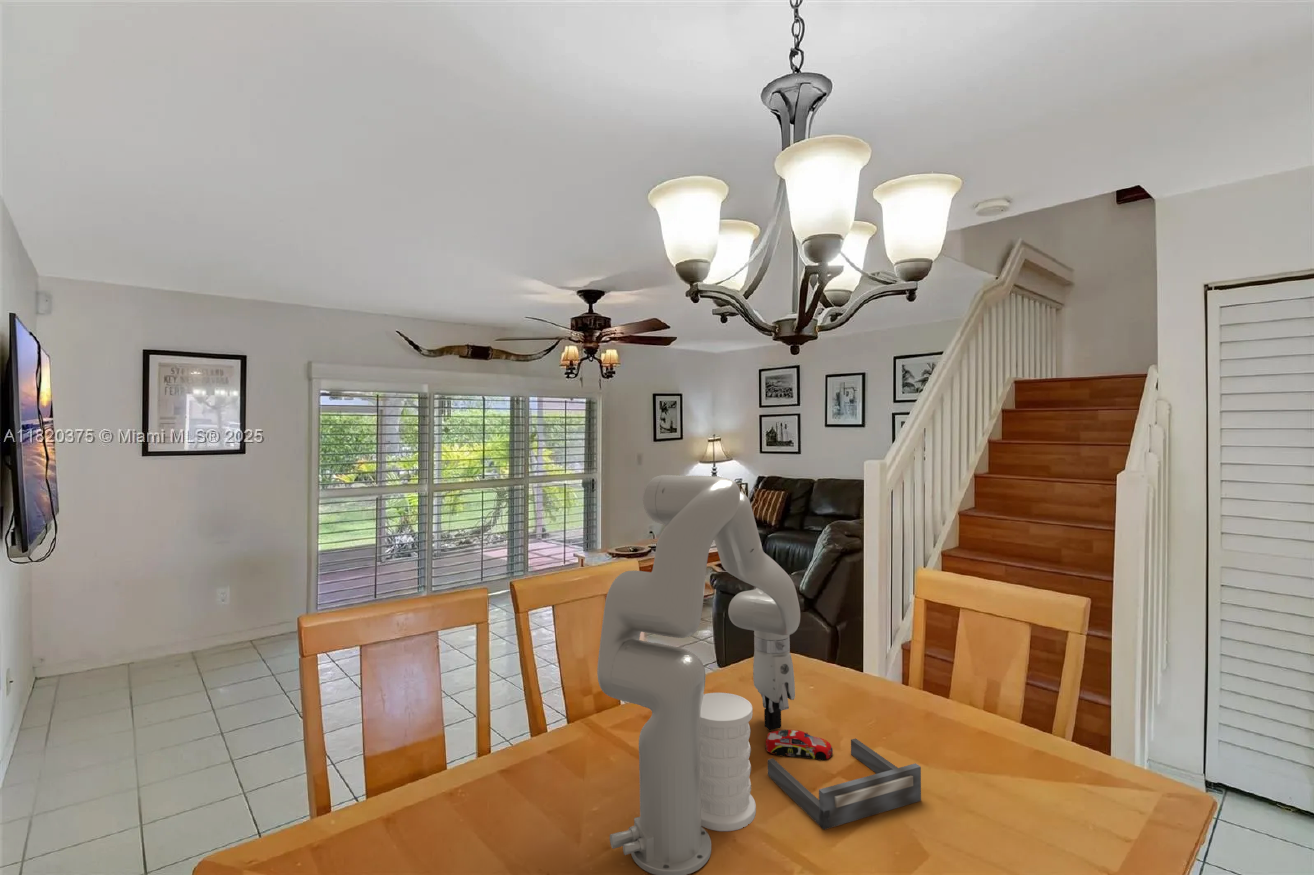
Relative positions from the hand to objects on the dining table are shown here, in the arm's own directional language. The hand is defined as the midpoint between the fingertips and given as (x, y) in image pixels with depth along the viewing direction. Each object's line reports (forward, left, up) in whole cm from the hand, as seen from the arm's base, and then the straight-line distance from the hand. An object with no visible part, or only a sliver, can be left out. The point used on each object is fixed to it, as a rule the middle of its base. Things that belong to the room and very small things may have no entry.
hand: (772, 727), depth 135 cm
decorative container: (-23, -20, -1) cm, 31 cm away
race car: (0, -9, -1) cm, 10 cm away
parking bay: (0, -22, -1) cm, 23 cm away
